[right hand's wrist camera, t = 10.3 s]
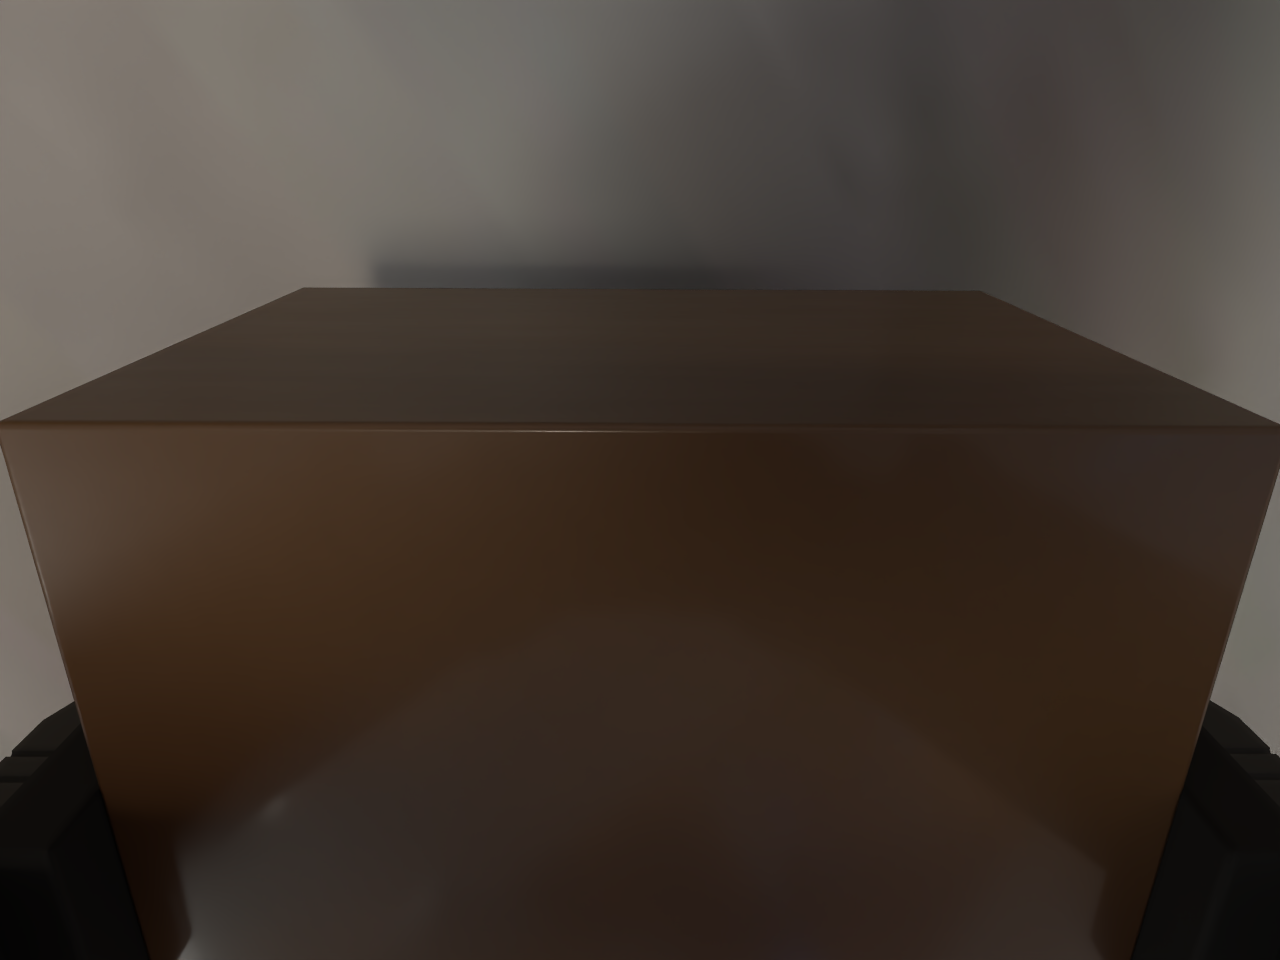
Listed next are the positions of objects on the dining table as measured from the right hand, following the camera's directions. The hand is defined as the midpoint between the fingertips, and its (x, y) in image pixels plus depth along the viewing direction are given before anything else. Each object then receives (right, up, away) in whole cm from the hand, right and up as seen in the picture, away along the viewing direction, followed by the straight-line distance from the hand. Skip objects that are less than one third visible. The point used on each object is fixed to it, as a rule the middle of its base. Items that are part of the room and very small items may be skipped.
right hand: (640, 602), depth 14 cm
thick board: (0, -19, +8) cm, 21 cm away
